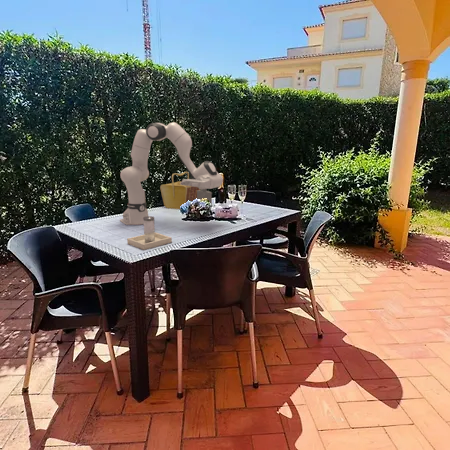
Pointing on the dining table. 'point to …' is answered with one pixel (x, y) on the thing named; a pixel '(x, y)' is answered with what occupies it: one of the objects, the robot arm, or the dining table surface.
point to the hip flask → (204, 195)
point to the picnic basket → (177, 193)
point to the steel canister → (149, 229)
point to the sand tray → (159, 240)
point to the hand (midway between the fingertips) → (186, 184)
